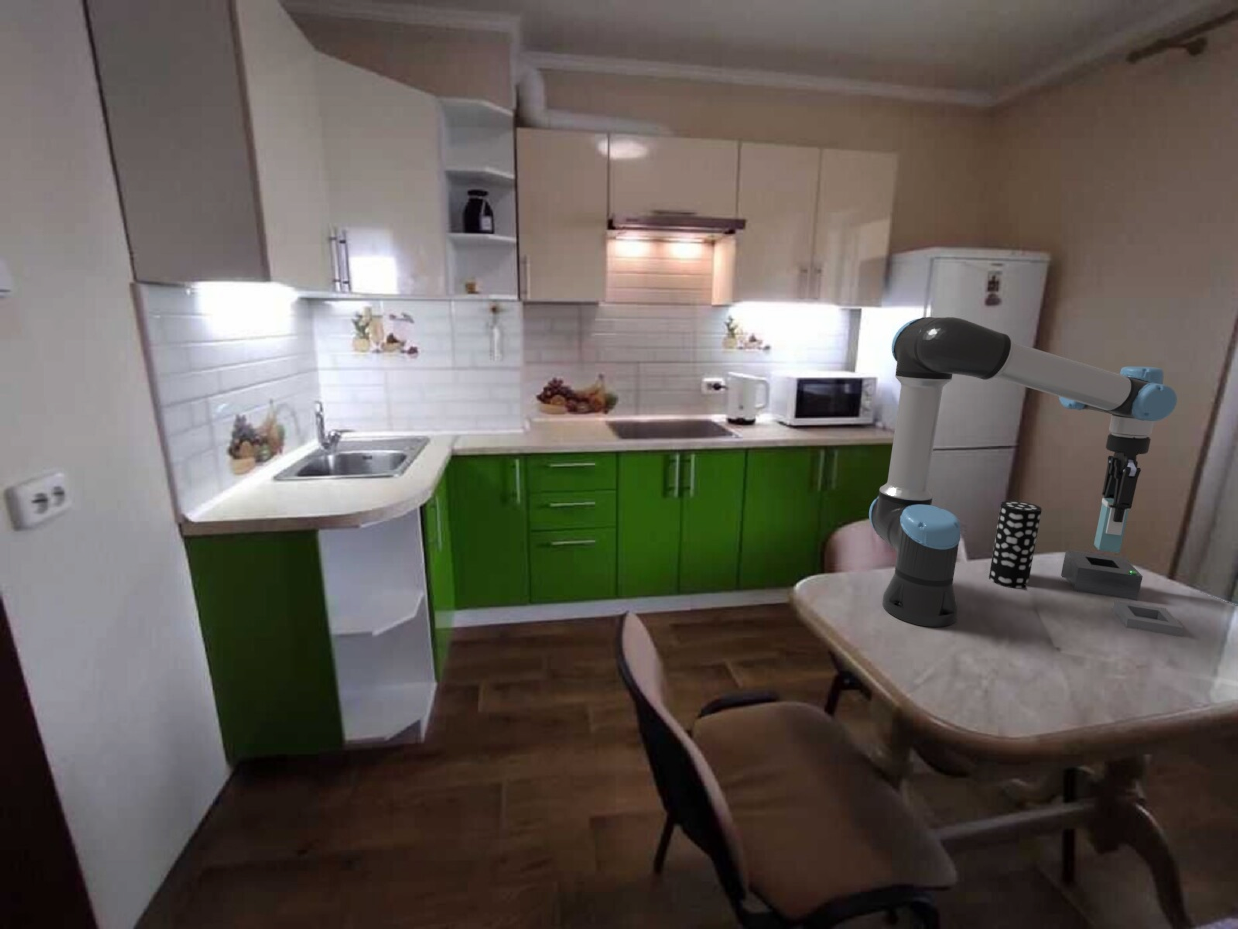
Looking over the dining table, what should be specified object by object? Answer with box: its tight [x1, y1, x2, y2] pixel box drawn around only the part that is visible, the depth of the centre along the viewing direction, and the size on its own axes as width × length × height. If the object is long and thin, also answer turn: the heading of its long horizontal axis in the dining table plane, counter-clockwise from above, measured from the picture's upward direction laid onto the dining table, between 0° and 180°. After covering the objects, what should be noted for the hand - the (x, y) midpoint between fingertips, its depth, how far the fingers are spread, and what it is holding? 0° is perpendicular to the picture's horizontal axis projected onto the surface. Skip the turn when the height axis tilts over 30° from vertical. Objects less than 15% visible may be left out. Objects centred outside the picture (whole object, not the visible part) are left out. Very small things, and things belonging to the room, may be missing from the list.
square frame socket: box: [1111, 600, 1184, 637], centre depth 126 cm, size 9×9×3 cm
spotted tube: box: [988, 500, 1043, 589], centre depth 146 cm, size 8×8×20 cm
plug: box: [1093, 497, 1130, 553], centre depth 140 cm, size 4×4×12 cm
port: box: [1060, 549, 1143, 601], centre depth 143 cm, size 12×12×7 cm
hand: (1110, 530), depth 140 cm, fingers closed on plug, 4 cm apart
